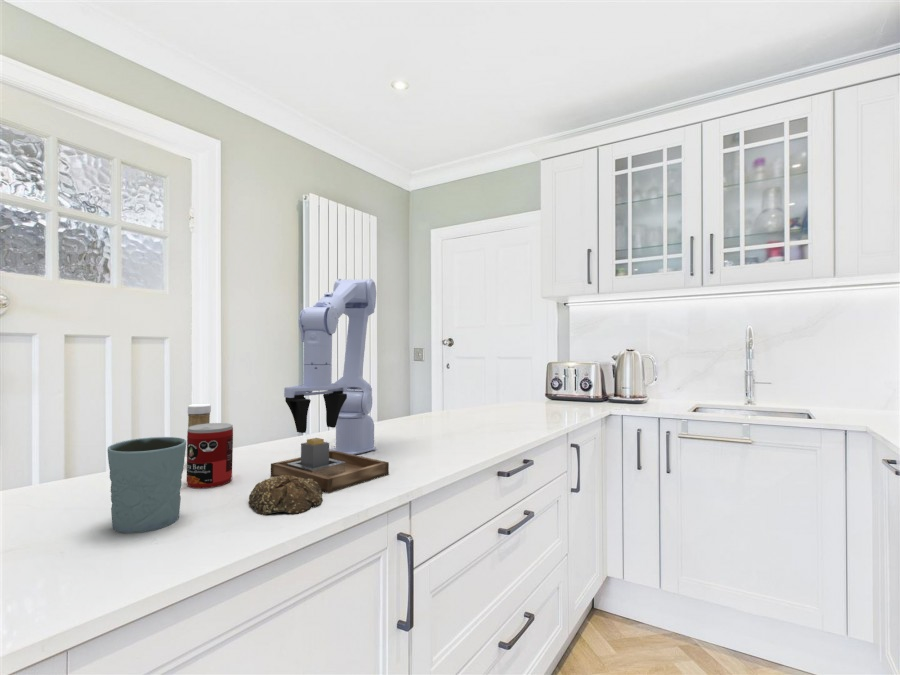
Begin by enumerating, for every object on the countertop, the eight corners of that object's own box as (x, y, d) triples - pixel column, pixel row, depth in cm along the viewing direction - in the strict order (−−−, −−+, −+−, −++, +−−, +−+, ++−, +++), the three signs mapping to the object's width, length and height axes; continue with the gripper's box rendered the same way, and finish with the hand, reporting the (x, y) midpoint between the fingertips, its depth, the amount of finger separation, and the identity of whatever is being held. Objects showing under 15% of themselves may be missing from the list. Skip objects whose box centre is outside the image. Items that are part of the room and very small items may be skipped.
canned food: (177, 485, 91) (178, 427, 91) (215, 475, 98) (216, 421, 98) (203, 491, 87) (204, 431, 87) (240, 480, 94) (241, 424, 94)
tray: (332, 460, 110) (332, 450, 110) (388, 474, 100) (388, 462, 100) (270, 475, 97) (270, 463, 97) (327, 493, 87) (327, 479, 87)
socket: (319, 465, 104) (319, 456, 104) (345, 471, 99) (345, 462, 99) (286, 473, 97) (286, 463, 97) (312, 480, 92) (312, 470, 92)
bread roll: (250, 496, 86) (251, 468, 86) (321, 490, 90) (321, 463, 90) (244, 521, 73) (245, 489, 74) (326, 513, 77) (327, 482, 78)
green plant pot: (170, 506, 79) (171, 434, 79) (196, 521, 72) (197, 442, 73) (96, 523, 71) (98, 443, 71) (118, 542, 65) (120, 454, 65)
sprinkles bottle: (212, 465, 105) (213, 404, 105) (190, 468, 102) (191, 406, 102) (206, 461, 108) (207, 402, 109) (183, 464, 105) (185, 404, 105)
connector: (316, 468, 101) (317, 436, 101) (328, 471, 99) (329, 439, 99) (300, 472, 98) (301, 439, 98) (312, 475, 96) (313, 442, 96)
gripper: (332, 362, 107) (331, 422, 107) (275, 364, 95) (274, 432, 95) (353, 363, 103) (353, 426, 103) (297, 366, 91) (296, 436, 91)
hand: (316, 429), depth 99 cm, fingers open, 7 cm apart
